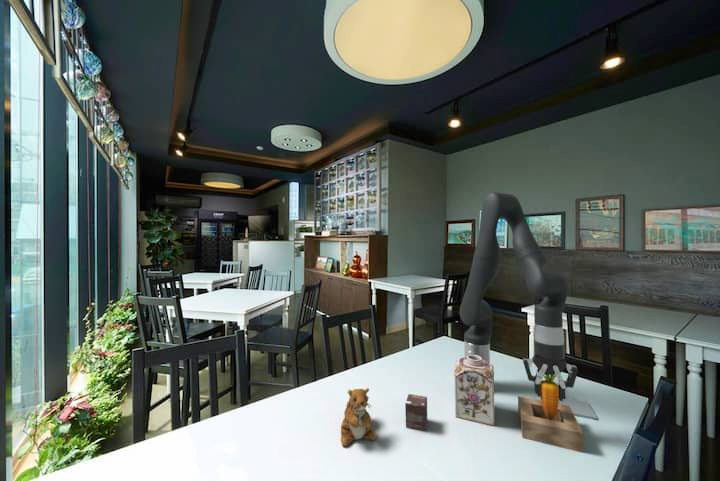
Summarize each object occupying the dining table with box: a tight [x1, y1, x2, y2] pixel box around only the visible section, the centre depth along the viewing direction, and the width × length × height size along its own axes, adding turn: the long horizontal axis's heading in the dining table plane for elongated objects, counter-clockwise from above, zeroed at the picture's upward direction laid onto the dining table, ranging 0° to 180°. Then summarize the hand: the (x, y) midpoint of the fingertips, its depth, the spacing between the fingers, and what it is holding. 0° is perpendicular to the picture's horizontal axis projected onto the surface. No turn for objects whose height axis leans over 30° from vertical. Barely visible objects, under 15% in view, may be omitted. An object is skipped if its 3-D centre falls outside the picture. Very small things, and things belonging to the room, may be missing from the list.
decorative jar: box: [453, 355, 496, 426], centre depth 93 cm, size 12×12×18 cm
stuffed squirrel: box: [340, 387, 377, 447], centre depth 84 cm, size 10×14×13 cm
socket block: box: [517, 395, 584, 453], centre depth 84 cm, size 14×14×5 cm
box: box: [404, 393, 428, 432], centre depth 87 cm, size 6×6×7 cm
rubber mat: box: [559, 397, 598, 421], centre depth 95 cm, size 10×10×1 cm
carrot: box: [540, 374, 559, 420], centre depth 84 cm, size 5×5×15 cm
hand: (549, 397), depth 84 cm, fingers closed on carrot, 5 cm apart
